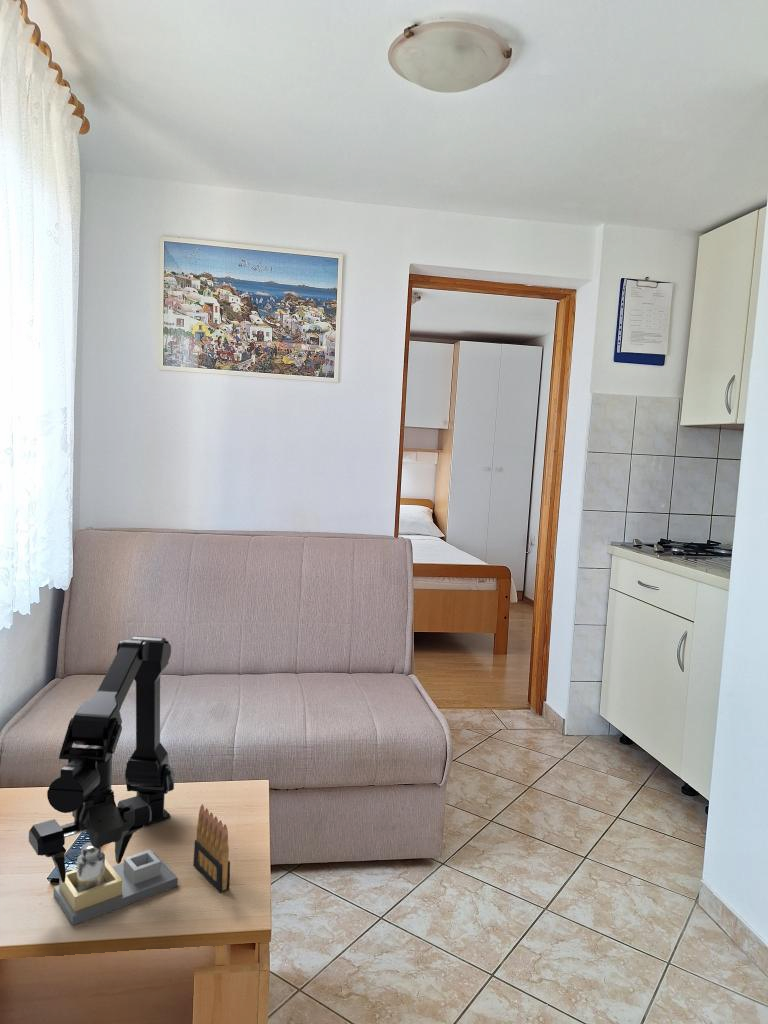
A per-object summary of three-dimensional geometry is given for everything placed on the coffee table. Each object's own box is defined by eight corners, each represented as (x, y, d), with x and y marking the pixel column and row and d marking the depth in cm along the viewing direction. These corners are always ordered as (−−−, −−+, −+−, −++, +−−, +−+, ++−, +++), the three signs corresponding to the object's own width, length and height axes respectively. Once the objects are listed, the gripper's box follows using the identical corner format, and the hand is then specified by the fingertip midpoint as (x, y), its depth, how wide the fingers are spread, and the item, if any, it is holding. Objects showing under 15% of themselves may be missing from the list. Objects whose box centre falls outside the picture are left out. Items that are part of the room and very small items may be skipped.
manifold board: (53, 894, 121) (54, 872, 121) (154, 860, 133) (154, 839, 133) (72, 925, 114) (73, 901, 114) (177, 885, 126) (178, 864, 125)
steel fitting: (72, 889, 121) (73, 845, 120) (98, 880, 124) (99, 836, 123) (81, 902, 117) (82, 856, 117) (108, 892, 120) (108, 847, 120)
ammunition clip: (229, 889, 125) (232, 825, 125) (220, 893, 124) (223, 828, 123) (202, 862, 134) (204, 801, 133) (193, 865, 132) (195, 803, 131)
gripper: (49, 819, 107) (47, 917, 108) (166, 786, 119) (163, 875, 120) (28, 791, 115) (26, 882, 116) (140, 763, 128) (137, 846, 129)
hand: (91, 871), depth 120 cm, fingers open, 9 cm apart
